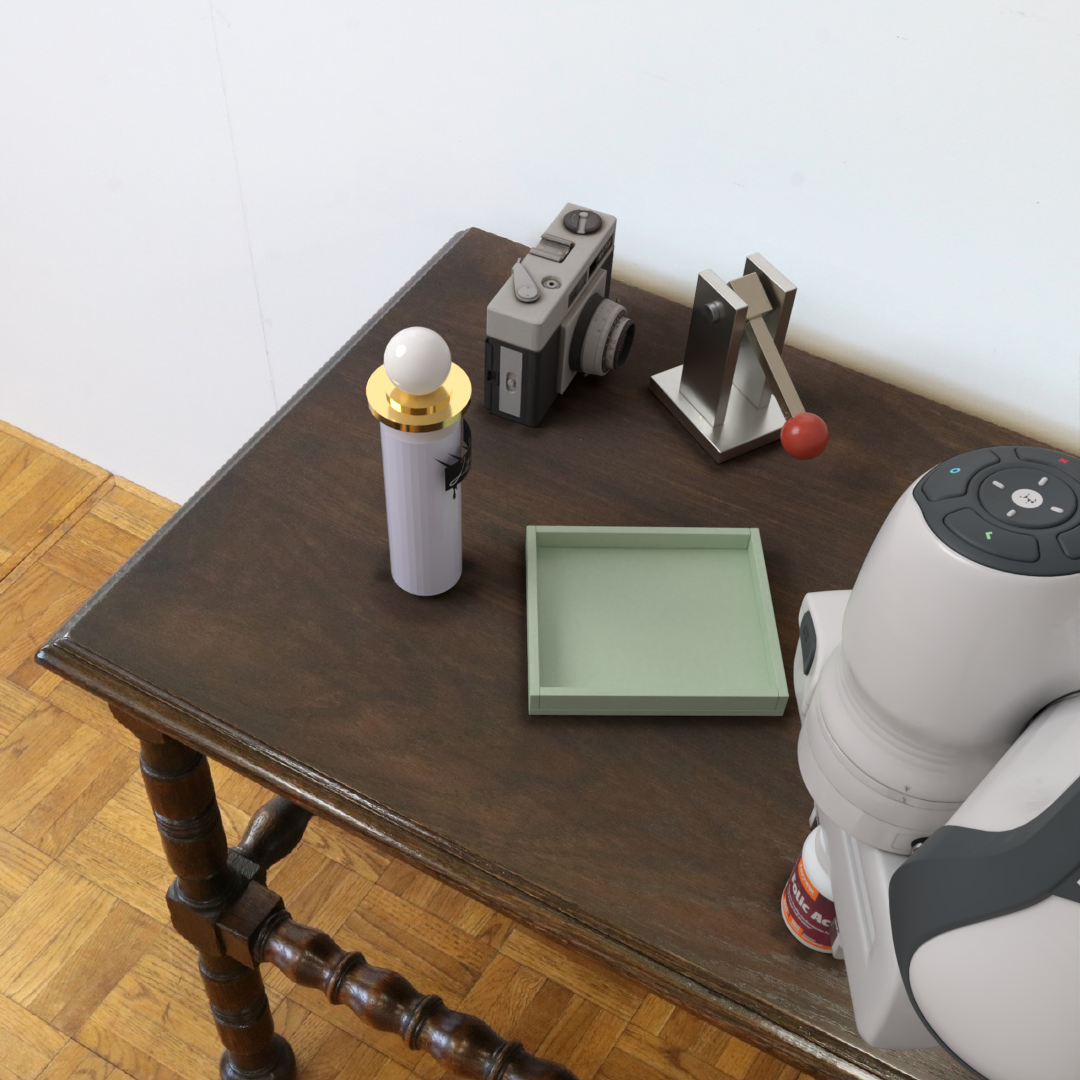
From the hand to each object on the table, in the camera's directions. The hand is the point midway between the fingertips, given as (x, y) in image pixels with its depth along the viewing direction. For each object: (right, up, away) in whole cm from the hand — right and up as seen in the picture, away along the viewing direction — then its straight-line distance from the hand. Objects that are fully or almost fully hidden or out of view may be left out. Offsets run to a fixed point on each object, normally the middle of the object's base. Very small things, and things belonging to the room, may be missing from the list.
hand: (835, 888), depth 65 cm
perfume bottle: (-23, +16, +16) cm, 32 cm away
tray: (-8, +12, +14) cm, 21 cm away
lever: (0, +29, +21) cm, 36 cm away
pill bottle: (0, -2, +2) cm, 3 cm away
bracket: (-2, +28, +28) cm, 39 cm away
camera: (-13, +31, +30) cm, 45 cm away
